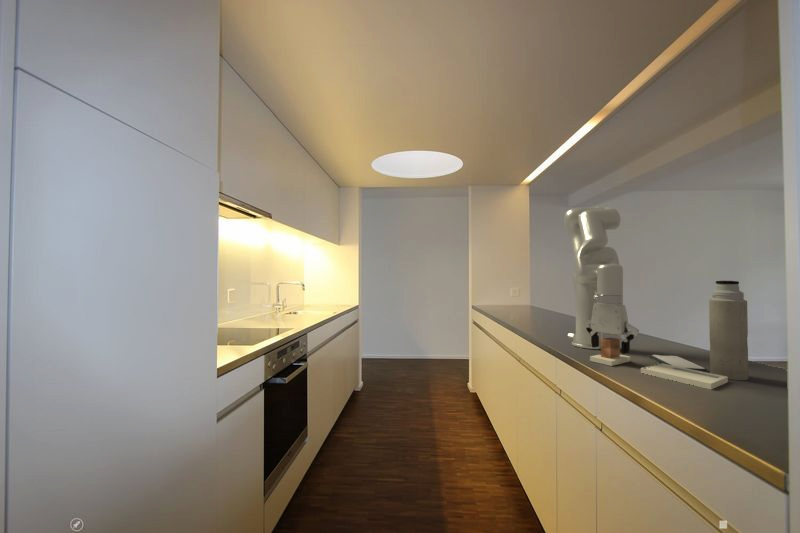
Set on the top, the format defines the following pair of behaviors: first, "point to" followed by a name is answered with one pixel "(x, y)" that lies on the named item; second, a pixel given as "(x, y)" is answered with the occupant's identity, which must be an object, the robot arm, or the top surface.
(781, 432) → the top surface
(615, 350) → the stub
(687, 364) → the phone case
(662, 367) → the flat white tray
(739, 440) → the top surface
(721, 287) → the thermos bottle
